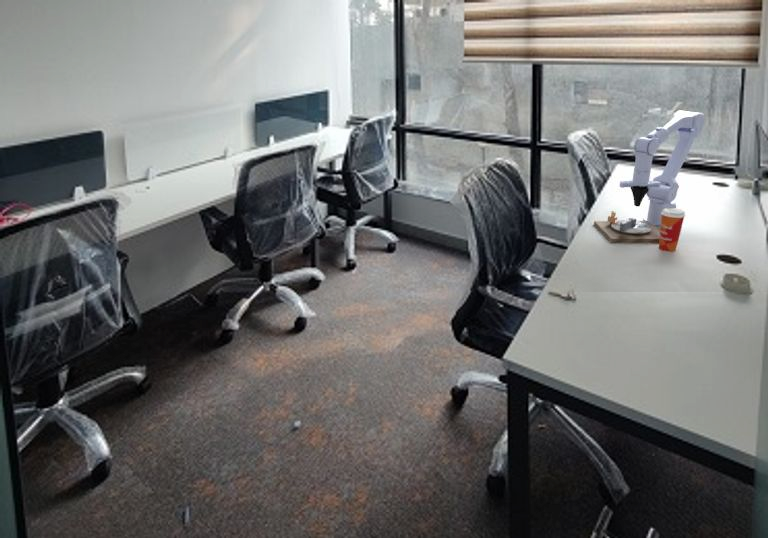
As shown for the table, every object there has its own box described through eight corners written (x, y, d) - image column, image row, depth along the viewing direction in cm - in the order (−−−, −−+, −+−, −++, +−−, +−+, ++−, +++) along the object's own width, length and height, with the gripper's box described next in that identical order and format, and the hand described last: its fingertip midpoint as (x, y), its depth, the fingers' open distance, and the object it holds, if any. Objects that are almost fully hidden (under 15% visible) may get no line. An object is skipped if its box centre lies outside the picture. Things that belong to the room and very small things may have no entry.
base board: (647, 224, 242) (647, 221, 242) (669, 242, 223) (670, 238, 222) (593, 224, 243) (594, 221, 242) (611, 242, 223) (611, 238, 223)
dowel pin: (613, 223, 239) (615, 211, 237) (614, 224, 238) (616, 212, 236) (609, 223, 239) (610, 211, 237) (610, 224, 238) (612, 212, 236)
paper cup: (651, 245, 220) (657, 207, 215) (671, 244, 221) (678, 207, 215) (662, 253, 213) (669, 214, 208) (683, 252, 213) (690, 213, 208)
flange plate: (656, 227, 232) (658, 217, 231) (640, 237, 222) (641, 227, 220) (615, 219, 242) (617, 209, 241) (597, 228, 232) (599, 218, 230)
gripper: (626, 172, 225) (621, 208, 230) (666, 172, 225) (660, 208, 230) (619, 168, 232) (615, 203, 237) (658, 168, 231) (652, 203, 236)
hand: (636, 205), depth 234 cm, fingers closed
